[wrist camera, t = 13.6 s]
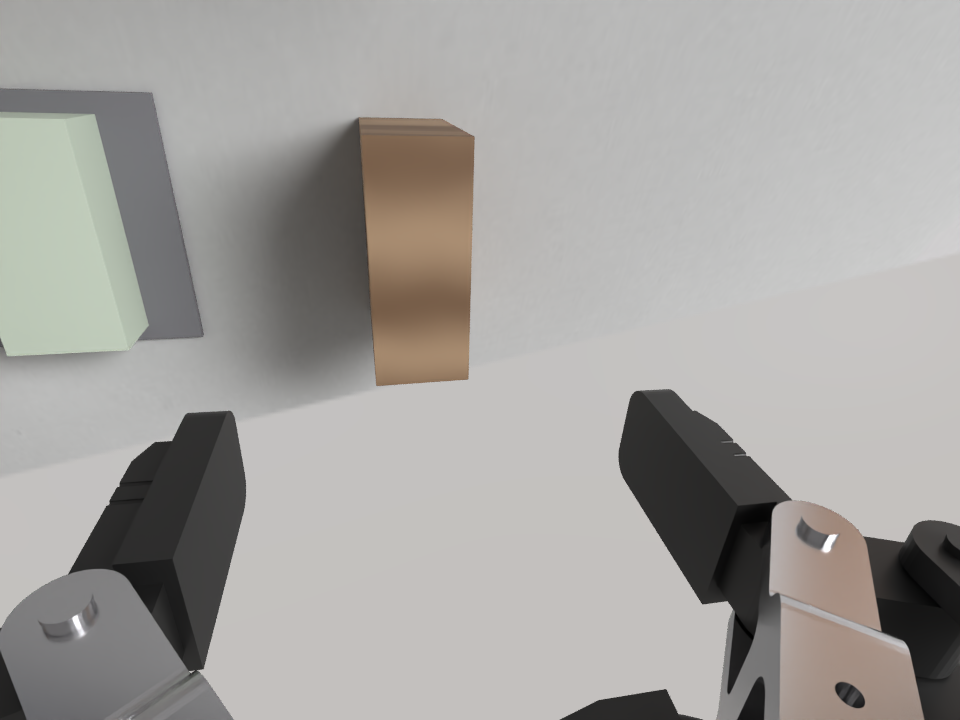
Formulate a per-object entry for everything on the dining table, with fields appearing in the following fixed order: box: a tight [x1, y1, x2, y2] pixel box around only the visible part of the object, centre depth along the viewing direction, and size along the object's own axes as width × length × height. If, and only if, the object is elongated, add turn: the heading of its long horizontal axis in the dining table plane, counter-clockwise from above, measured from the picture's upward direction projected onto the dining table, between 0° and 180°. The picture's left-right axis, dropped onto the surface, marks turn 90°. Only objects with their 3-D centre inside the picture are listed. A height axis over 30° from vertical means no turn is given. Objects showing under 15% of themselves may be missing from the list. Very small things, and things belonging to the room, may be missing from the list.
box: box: [359, 117, 474, 386], centre depth 31 cm, size 12×5×10 cm, turn 178°
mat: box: [0, 89, 204, 347], centre depth 31 cm, size 14×12×1 cm
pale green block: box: [0, 112, 149, 356], centre depth 30 cm, size 12×6×4 cm, turn 178°
